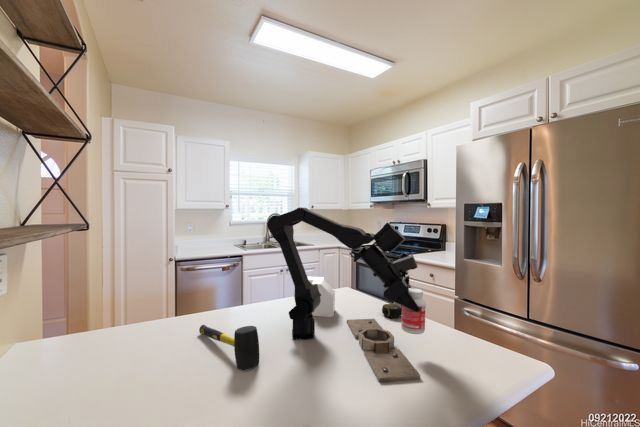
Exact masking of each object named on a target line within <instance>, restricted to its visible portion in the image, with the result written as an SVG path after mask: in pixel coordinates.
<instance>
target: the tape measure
mask: <svg viewBox="0 0 640 427" xmlns="http://www.w3.org/2000/svg"><path fill="white" fill-rule="evenodd" d="M381 312H382V314H383V315H384V316H385V317H389V318H398V317H402V306H399V305H396V304H394V303H392V302H389V303H384V304H383V305H382V308H381Z"/></svg>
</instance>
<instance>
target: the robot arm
mask: <svg viewBox="0 0 640 427" xmlns="http://www.w3.org/2000/svg"><path fill="white" fill-rule="evenodd" d="M302 222H303V223H306V224H308V225H310V226H312V227H313V228H316V229H318V230H320V231H322V232H325V233H327V234H329V235H331V236H332V237H334V238H336V239H337V240H338V241H339V242H340V243H341V244H343V245H344V246H345V247H347V248H349V249H350V250H356V249H360V248H361V247H362V246H363V247H362V248H361V249H360V250H359V251H354V252H353V262H354V263H356V262H357V261H359V260H360V259H361V261H362V262H363V263H364V264H365V265H366V266H367V267H368V268H369V270H370V271H372V272H373V273H372V276H374V277H377V278H378V279H379V280H380V282H382V284H383V285H382V286H383V287H384V290H383V293H382V294H383V298H384V300H386V302H388V303H387V304H390V303H397V304H399V305H401V306H402V305H403V306H405V307H407V308H409V309H411V310H413V311H416V312H419V311H420V308H419V307H418V305H417V304H416V302H415V301H414V299H413V298H412V296H411V295H410V293H409V288H412V286H411V284H410V275H409V271H411V270H415V269H417V268H418V262H416V259H415V257H414V254H410V255H409V254H408V253H407V252H404V253H401V254H400V258H398V259H397V260H393V259H392V258H390V257H389V258H388V257H387V256H386V255H385V253H390V254H391V253H392V252H394V251H395V250H396V249H397V248H398V247H399V246H400V245H401V244H403V243H404V241H405V240H406V238H405V236H404V235H403V234H402V233H401V231H399V230H398V229H396V228H395V227H394V226H393V225H391V224H390V223H389V222H386V223H385V224H384V225H383V227H382V228H381V229H380V230H378V231H377V232H376V233H371V232H370V233H369V232H366V231H365V229H362V228H360V227H357V226H352V225H349V224H348V225H347V224H342V223H339V222H337V221H334V220H332V219H330V218H328V217H326V216H324V215H321V214H319V213H316V212H315V211H312V210H310V209H308V208H307V207H297V208H296V209H293V210H291V211H287V212H285V213H282V214H276V215H275V214H274V215H271V216H270V217H269V218H268V219H267V223H266V226H267V229H268V231H269V233H270V235H271V237H272V238H274V240H275V241H276V243H278V245H279V247H280V249H281V253H282V256H283V258H284V261H285V263H286V266H287V268H288V272H289V275H290V277H291V280H292V283H293V285H294V294H293V295H294V296H293V297H294V302H295V305H294V307H293V308H291V309H290V310H289V311H288V316H289V319H290V320H292V329H291V338H292V340H295V341H296V340H312V339H314V338H315V337H314V335H315V332H316V331H315V329H316V328H315V326H316V325H315V324H316V321H315V318H314V316H313V315H312V312H314V310H315V309H316V308H317V307H318V306H319V304H320V302H321V299H320V296H321V294H320V292H319V290H318V286H317V284H315V285H312V284H311V283H310V282H309V280H308V275H307V273H306V270H305V267H304V264H303V262H302V259H301V256H300V254H299V251H298V248H297V245H296V244H295V243H296V242H295V240H294V235H295V234H294V233H295V231H294V226H296V225H298V224H299V223H302ZM371 242H373V243H372V244H371V245H370V246H367V245H369V244H370V243H371ZM364 245H365V246H364Z"/></svg>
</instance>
